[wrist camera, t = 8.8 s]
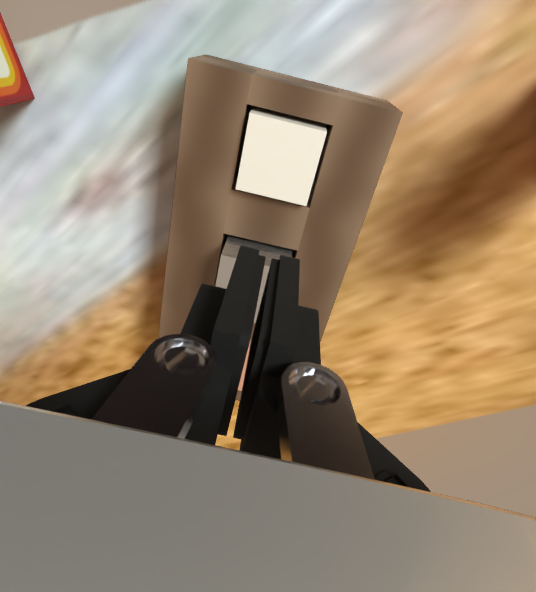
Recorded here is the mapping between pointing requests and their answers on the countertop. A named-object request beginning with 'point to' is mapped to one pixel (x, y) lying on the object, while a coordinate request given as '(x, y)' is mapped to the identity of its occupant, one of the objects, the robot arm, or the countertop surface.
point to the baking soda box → (11, 72)
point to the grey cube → (231, 254)
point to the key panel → (260, 209)
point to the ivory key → (280, 155)
